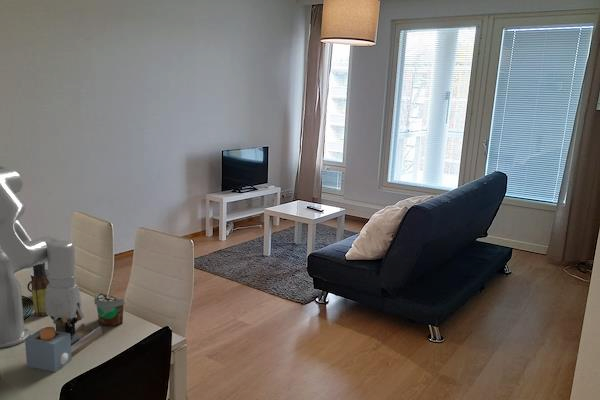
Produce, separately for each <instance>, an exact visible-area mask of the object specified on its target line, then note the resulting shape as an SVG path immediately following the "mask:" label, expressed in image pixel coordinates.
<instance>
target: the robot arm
mask: <svg viewBox="0 0 600 400" xmlns="http://www.w3.org/2000/svg"><path fill="white" fill-rule="evenodd" d="M23 181H24V180H23V178H22V176H21V175H20V173H19V172H18V171H16V170H15V169H13V168H11V167H6V166H3V165H2V166H0V348H7V347H12V346H13V347H14V346H16V345H19V344H21V343H23V342H25V338H27V337H29V336H30V335H31V331H30V329H29V328H28V327H25V321H24V311H23V309H24V308H23V299H22V298H23V296H22V287H21V283H20V281H19V280H18V279H17V277H15V275H14V274H15V273H17V272H19V271H22V270H24V269H30V268H33V266H36V265H38V264H41V263H43V262H45V263H46V262H47V269H48V274H49V275H48V276H47V279H49V284H48V285H47V289H46V295H45V311H46V314H47V315H46V316H49V318H50V319H51V320H52V321H53V324H54V325H55V331H57V324H56V322H57V321H59V320H60V319H62V318H64V319H67V324H68V326H67V327H66V333H70V337H72V336H73V335H74V334H75V328H76V324H77V322H79V321H82V320H83V319H85V315H84V313H83V312H82V299H81V293H80V289H79V288H80V287H79V284H77V274H76V258H75V257H76V255H75V244H74V243H73V242H72V241H69V240H60V239H57V238H56V237H52V236H46V235H45V236H41V237H39V238H36V239H32V238H31V236H30V235H29V233H27V231H26V230H25V227H23V225H22V224H21V222H20V221H19V219H20V218H21V217H22V216H23V215H24V214H25V212H26V206H25V205H24V203H23V202H22V201H21V199H20V198H19V197H18V196H17V193H19V192H20V191H21V190H22V189H23V186H24V182H23ZM71 319H72V321H71Z"/></svg>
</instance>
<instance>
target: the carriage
mask: <svg viewBox="0 0 600 400" xmlns="http://www.w3.org/2000/svg"><path fill="white" fill-rule="evenodd" d="M71 321H72V319H71ZM56 324H57V331H60V332H65V333H66V327H67V326H68V324H67V319H64V318H62V319H60V320H59V321H57V322H56ZM56 324H55V325H56ZM78 341H79V334H74V335H73V336H72V337H71V346H72V345H73V344H75V343H76V342H78Z"/></svg>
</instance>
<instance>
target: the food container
mask: <svg viewBox="0 0 600 400" xmlns="http://www.w3.org/2000/svg"><path fill="white" fill-rule="evenodd" d="M102 292H103V291H102V290H101V291H100V292H98V293H96V294H95V296H94V299H93V301H94V303H93V304H94V305H96V310H97V318H98V323H99V325H100V326H101V327H108V328H109V327H116V326H120V325H121V326H122V324H124V321H123V320H124V305H125V304H126V302H125V299H124V298H120V299H119V298H116V297H114V296H113V295H106V294H104V293H102Z"/></svg>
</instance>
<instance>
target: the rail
mask: <svg viewBox="0 0 600 400" xmlns="http://www.w3.org/2000/svg"><path fill="white" fill-rule="evenodd" d="M75 334H79V341H78V342H76V343H75V344H73V345H72V346H71V355H72V358H73V357H74V356H77V354H78V353H80V352H81V351H83V350H85V348H86V347H88V346H90V345H91V344H92V343H93V342H95V341H97V340H98V339H99V338H101V337H102V336H103V330H102V326H101V325H100V326H98V327H96V328H95V329H94V328H90V327H89V328H88V327H86V325H85V323H80V325H78V326H77V327H76V326H75Z"/></svg>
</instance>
